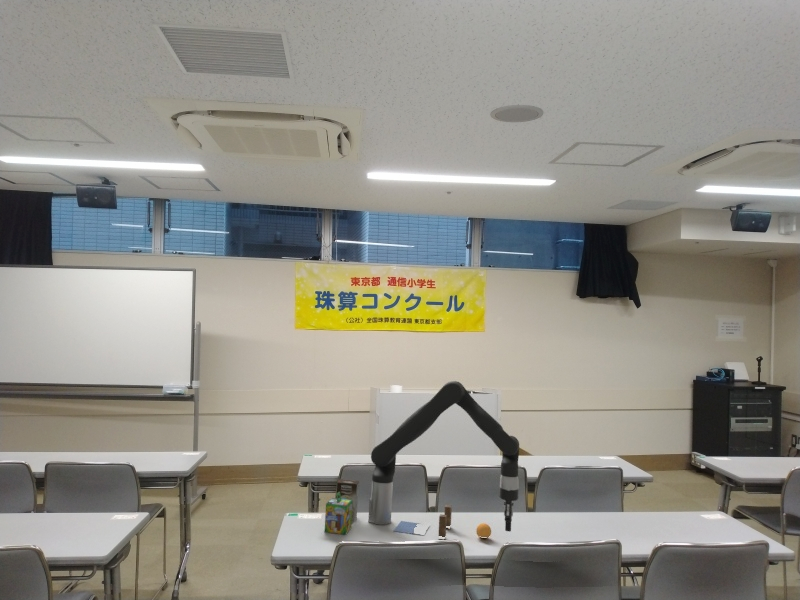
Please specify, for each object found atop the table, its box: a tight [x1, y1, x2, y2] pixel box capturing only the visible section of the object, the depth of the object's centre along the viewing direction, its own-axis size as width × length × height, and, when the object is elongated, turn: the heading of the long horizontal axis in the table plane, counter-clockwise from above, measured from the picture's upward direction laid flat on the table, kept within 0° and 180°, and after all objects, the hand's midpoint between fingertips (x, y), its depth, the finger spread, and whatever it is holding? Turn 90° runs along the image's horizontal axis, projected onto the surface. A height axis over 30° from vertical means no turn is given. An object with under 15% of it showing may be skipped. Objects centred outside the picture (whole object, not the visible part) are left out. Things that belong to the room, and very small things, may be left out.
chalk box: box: [324, 492, 353, 535], centre depth 210 cm, size 9×9×15 cm
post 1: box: [438, 513, 447, 537], centre depth 206 cm, size 3×3×9 cm
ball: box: [475, 522, 492, 538], centre depth 208 cm, size 6×6×6 cm
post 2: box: [443, 504, 453, 526], centre depth 219 cm, size 3×3×9 cm
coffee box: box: [335, 478, 360, 523], centre depth 224 cm, size 9×6×16 cm
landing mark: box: [393, 520, 420, 535], centre depth 216 cm, size 13×13×1 cm
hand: (508, 530), depth 206 cm, fingers closed
